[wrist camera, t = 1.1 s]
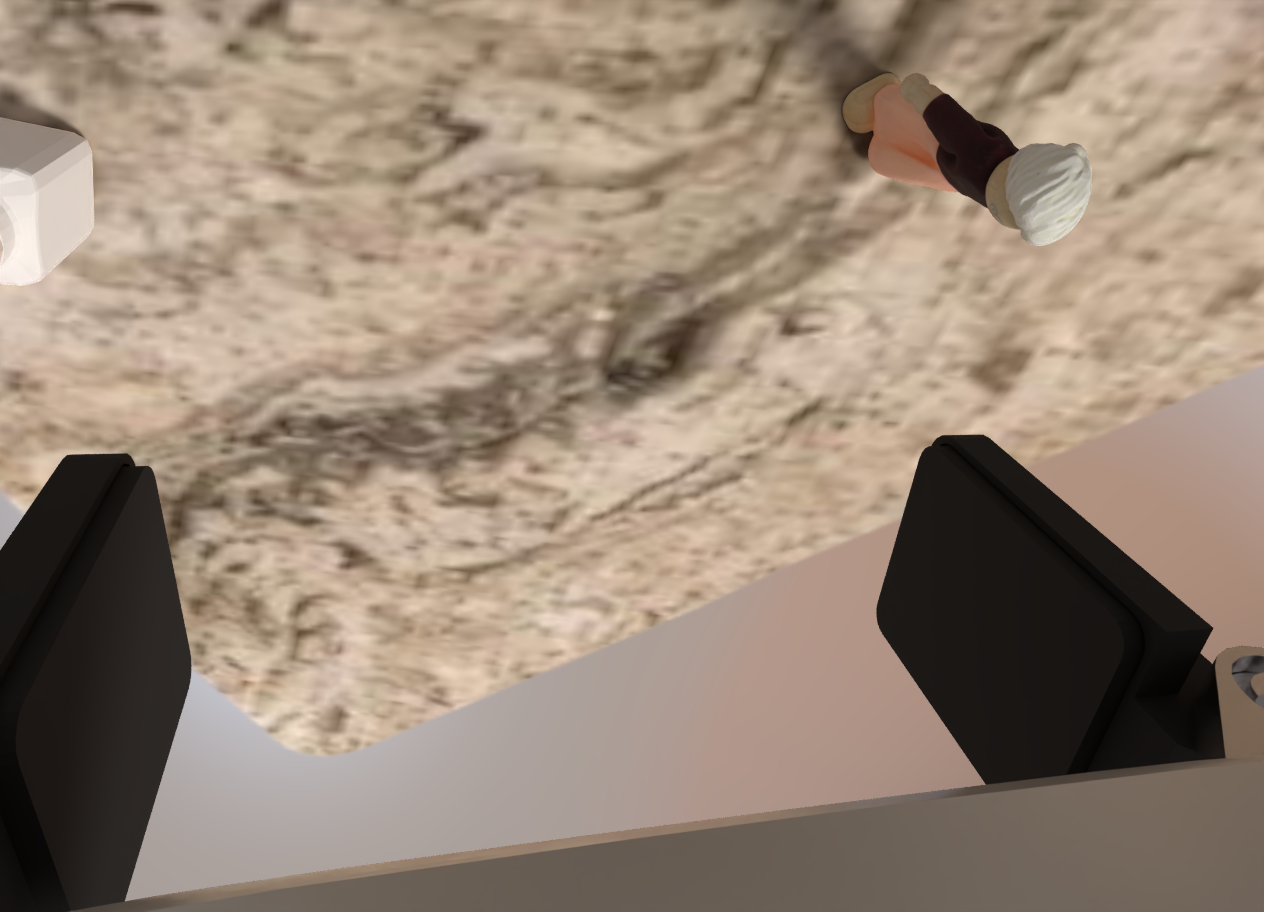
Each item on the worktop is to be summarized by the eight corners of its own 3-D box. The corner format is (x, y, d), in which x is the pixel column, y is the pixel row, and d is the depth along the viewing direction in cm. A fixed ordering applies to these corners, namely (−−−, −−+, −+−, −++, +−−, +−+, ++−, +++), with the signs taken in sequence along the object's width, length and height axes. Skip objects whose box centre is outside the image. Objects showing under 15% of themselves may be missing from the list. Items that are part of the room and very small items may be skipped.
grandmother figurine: (804, 124, 38) (948, 206, 27) (857, 39, 36) (1032, 91, 26) (928, 208, 41) (1102, 311, 30) (982, 133, 39) (1184, 214, 29)
